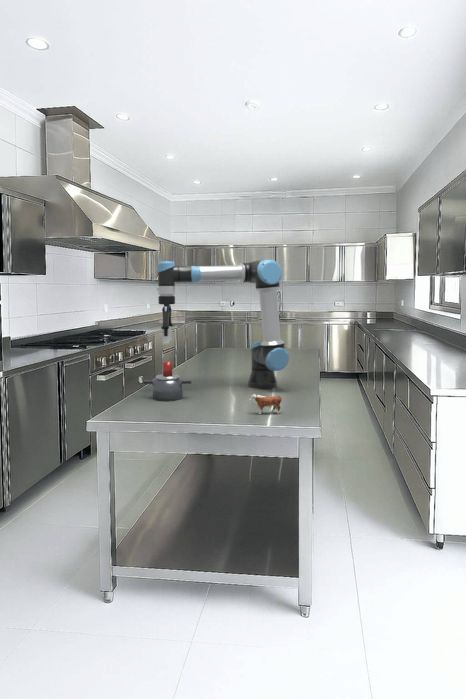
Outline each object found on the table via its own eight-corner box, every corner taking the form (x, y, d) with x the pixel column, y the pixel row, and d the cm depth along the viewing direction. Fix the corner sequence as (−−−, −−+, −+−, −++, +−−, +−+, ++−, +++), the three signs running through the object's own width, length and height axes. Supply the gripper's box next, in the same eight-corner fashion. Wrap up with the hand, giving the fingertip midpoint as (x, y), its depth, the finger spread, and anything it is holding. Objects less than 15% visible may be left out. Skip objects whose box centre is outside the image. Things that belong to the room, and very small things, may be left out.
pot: (191, 394, 265) (191, 376, 264) (190, 401, 252) (190, 381, 250) (145, 395, 265) (145, 376, 263) (142, 401, 251) (141, 381, 250)
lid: (180, 377, 262) (180, 360, 261) (178, 381, 251) (178, 363, 250) (157, 376, 262) (157, 360, 261) (154, 381, 252) (153, 363, 251)
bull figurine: (248, 412, 230) (248, 393, 229) (280, 411, 231) (280, 392, 230) (249, 415, 226) (250, 395, 225) (282, 414, 227) (282, 394, 226)
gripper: (160, 294, 264) (161, 339, 267) (155, 296, 240) (156, 344, 242) (176, 294, 265) (177, 338, 267) (173, 296, 240) (173, 344, 243)
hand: (167, 341), depth 255 cm, fingers open, 13 cm apart
